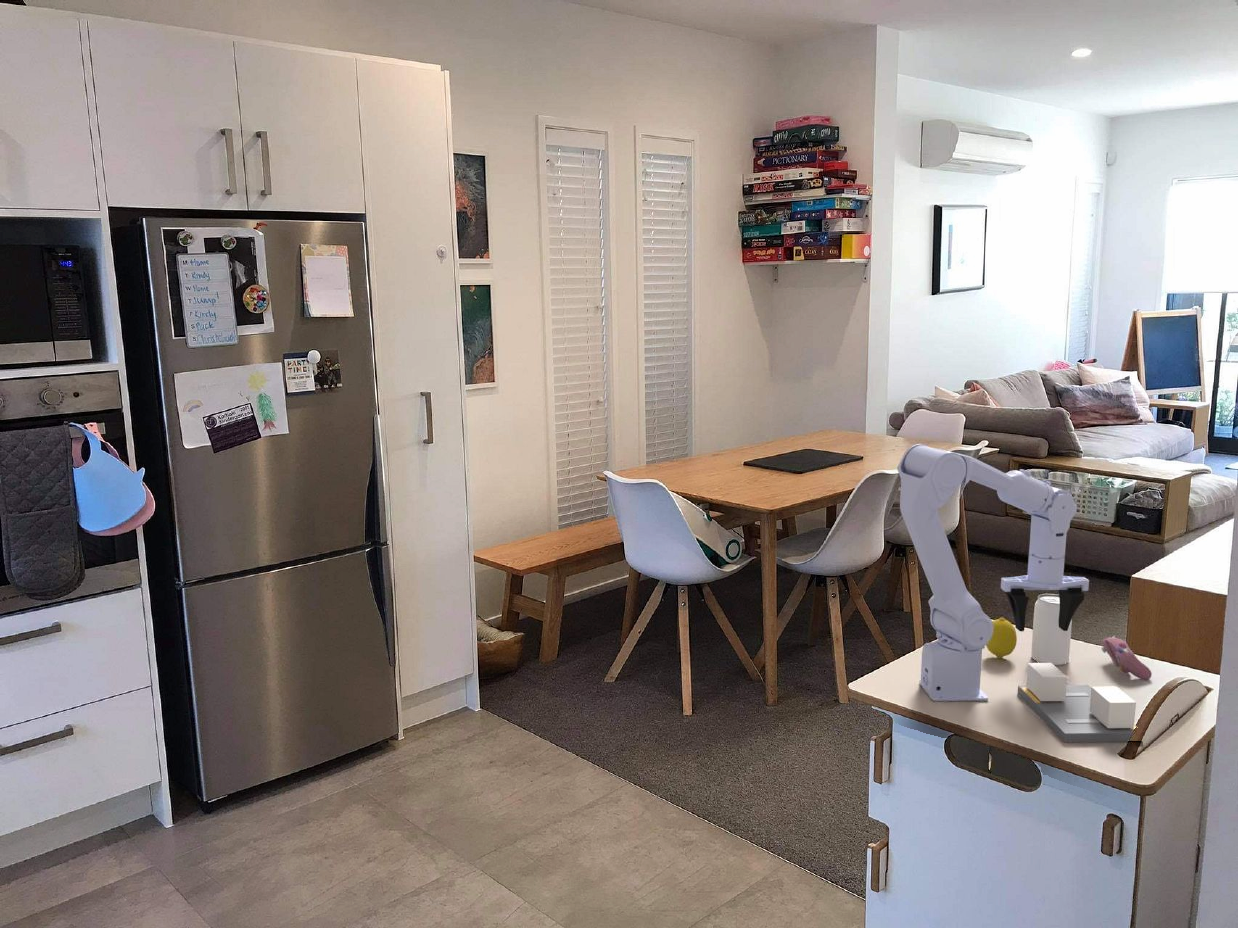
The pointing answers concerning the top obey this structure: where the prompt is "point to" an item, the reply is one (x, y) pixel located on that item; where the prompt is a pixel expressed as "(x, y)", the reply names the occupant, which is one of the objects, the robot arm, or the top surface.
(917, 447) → the robot arm
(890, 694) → the top surface
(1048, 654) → the can
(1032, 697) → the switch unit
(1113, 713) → the switch front
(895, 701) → the top surface
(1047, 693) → the switch back
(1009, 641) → the lemon
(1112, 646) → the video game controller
